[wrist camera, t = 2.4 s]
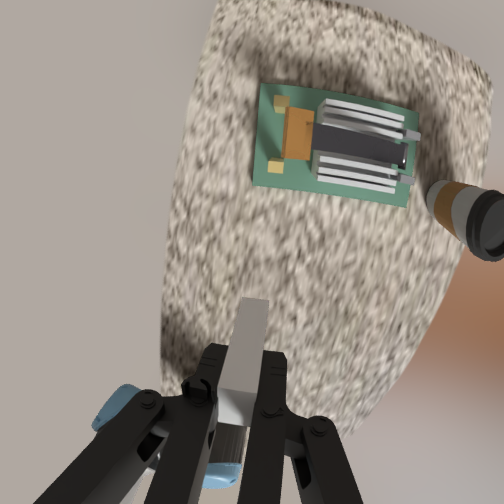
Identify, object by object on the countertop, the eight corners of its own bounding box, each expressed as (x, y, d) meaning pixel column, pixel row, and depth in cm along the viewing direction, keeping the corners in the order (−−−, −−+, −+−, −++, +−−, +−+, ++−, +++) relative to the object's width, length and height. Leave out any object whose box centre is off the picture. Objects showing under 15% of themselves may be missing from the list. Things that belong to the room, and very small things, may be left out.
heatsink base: (415, 113, 30) (448, 109, 22) (402, 205, 35) (431, 224, 27) (261, 84, 32) (254, 67, 23) (253, 184, 37) (243, 197, 29)
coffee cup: (466, 208, 34) (525, 240, 20) (431, 235, 36) (484, 279, 23) (448, 163, 32) (512, 180, 18) (410, 190, 34) (468, 220, 21)
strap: (404, 138, 26) (411, 139, 26) (400, 173, 28) (406, 175, 27) (284, 107, 20) (290, 106, 20) (279, 157, 22) (285, 158, 21)
